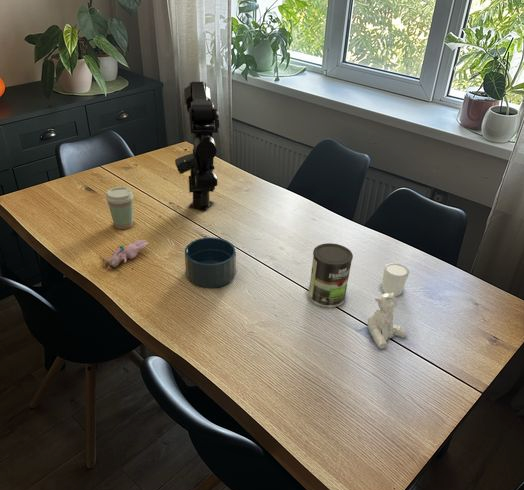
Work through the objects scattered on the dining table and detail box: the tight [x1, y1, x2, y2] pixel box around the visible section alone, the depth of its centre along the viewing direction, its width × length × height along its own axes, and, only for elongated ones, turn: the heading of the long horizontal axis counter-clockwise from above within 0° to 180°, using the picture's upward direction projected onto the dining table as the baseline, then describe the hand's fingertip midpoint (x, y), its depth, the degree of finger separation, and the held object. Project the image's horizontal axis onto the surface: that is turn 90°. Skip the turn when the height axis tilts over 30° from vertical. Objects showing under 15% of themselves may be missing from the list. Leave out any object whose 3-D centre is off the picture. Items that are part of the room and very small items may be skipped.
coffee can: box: [307, 242, 354, 309], centre depth 133 cm, size 10×10×14 cm
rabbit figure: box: [102, 239, 150, 270], centre depth 146 cm, size 6×6×15 cm
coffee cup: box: [105, 186, 134, 230], centre depth 160 cm, size 9×9×12 cm
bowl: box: [184, 236, 237, 289], centre depth 141 cm, size 14×14×8 cm
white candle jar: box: [381, 262, 410, 297], centre depth 139 cm, size 7×7×7 cm
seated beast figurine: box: [367, 293, 407, 350], centre depth 122 cm, size 10×9×12 cm
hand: (204, 195), depth 156 cm, fingers closed
